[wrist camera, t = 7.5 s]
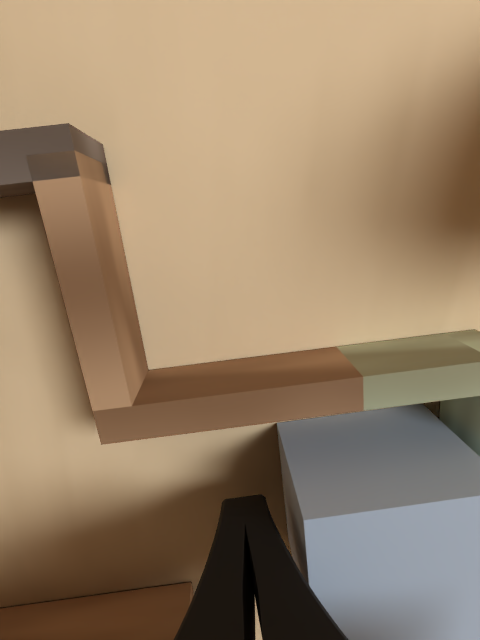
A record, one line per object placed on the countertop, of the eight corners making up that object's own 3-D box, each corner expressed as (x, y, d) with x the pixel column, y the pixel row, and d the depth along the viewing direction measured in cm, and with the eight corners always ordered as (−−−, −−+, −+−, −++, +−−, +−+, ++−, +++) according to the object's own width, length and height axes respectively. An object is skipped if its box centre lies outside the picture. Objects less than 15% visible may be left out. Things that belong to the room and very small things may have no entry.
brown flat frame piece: (446, 672, 16) (480, 741, 14) (-136, 757, 16) (-191, 842, 13) (493, 101, 10) (571, 68, 7) (-511, 212, 9) (-735, 211, 7)
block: (418, 519, 14) (496, 639, 10) (288, 537, 13) (316, 667, 10) (421, 403, 12) (516, 490, 8) (277, 423, 12) (303, 520, 8)
